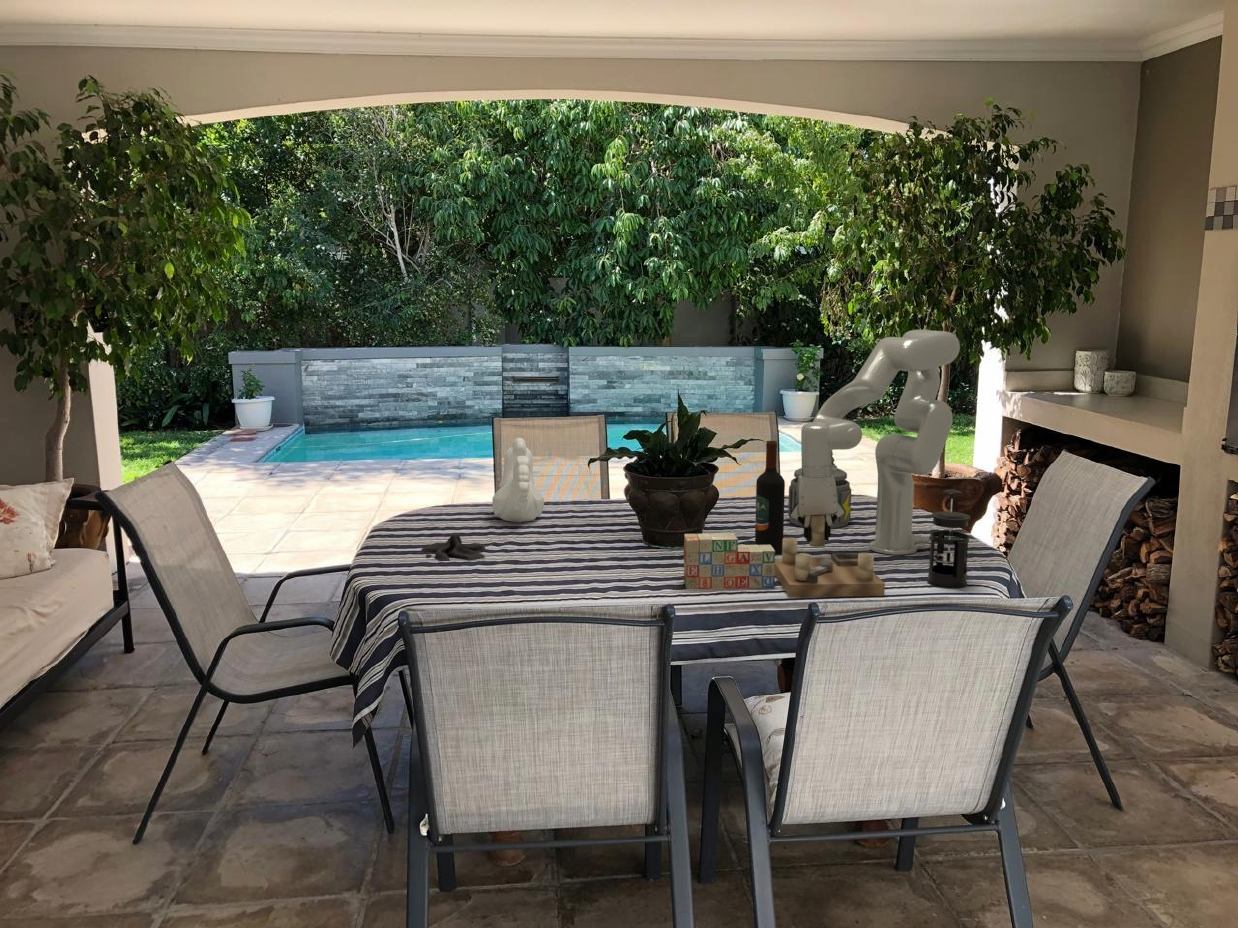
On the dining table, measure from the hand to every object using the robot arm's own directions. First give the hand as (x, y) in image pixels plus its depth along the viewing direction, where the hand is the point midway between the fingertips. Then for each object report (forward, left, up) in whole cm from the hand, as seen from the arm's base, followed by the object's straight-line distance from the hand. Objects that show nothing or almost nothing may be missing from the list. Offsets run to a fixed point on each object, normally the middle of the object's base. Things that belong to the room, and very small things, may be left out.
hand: (817, 539), depth 274 cm
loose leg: (0, 0, -1) cm, 1 cm away
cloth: (+95, -12, -7) cm, 96 cm away
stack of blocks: (+26, +18, -7) cm, 32 cm away
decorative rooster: (+80, -48, -6) cm, 94 cm away
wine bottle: (+10, -12, -6) cm, 17 cm away
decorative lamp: (-11, -44, -6) cm, 46 cm away
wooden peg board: (+2, +18, -6) cm, 19 cm away
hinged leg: (+6, +22, -3) cm, 22 cm away
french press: (-28, +20, -6) cm, 35 cm away
